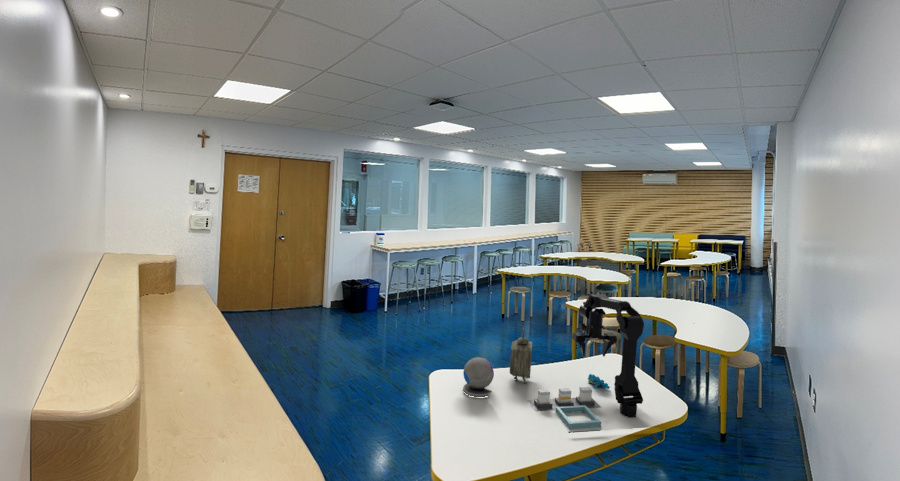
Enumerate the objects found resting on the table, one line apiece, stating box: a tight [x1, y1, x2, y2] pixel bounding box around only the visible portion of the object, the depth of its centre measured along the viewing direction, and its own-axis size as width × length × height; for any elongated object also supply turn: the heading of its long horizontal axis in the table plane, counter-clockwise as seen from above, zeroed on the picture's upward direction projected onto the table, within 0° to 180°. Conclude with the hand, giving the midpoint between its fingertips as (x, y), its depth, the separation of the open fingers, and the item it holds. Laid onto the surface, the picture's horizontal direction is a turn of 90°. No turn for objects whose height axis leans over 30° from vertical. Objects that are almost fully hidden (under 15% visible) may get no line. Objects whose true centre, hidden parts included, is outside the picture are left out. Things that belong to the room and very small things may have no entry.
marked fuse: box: [557, 387, 572, 403], centre depth 178 cm, size 3×4×6 cm, turn 100°
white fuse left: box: [536, 388, 551, 404], centre depth 177 cm, size 3×4×6 cm, turn 100°
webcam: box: [462, 356, 495, 397], centre depth 189 cm, size 13×13×15 cm
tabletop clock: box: [509, 327, 533, 385], centre depth 201 cm, size 14×9×25 cm, turn 168°
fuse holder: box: [527, 396, 603, 412], centre depth 179 cm, size 9×28×3 cm, turn 100°
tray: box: [554, 405, 602, 434], centre depth 167 cm, size 12×12×4 cm
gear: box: [587, 373, 611, 390], centre depth 195 cm, size 11×6×10 cm
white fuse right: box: [578, 386, 593, 401], centre depth 180 cm, size 3×4×6 cm, turn 100°
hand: (593, 356), depth 197 cm, fingers open, 9 cm apart
